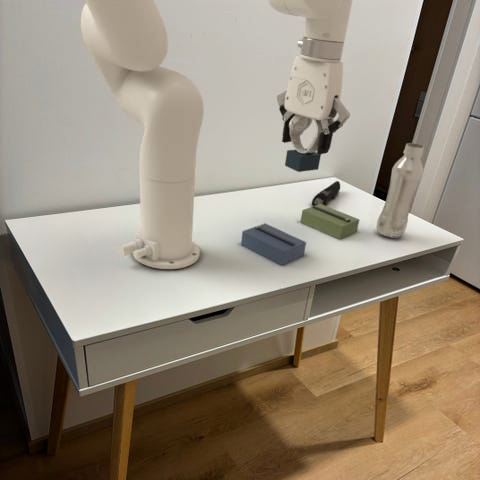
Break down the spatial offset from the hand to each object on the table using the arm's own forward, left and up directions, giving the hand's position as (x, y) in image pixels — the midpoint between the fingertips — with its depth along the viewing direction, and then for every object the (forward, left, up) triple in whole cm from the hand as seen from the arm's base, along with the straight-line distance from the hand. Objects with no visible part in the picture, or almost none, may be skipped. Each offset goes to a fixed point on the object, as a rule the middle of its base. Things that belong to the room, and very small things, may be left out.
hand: (304, 147), depth 100 cm
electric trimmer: (+22, +6, -18) cm, 29 cm away
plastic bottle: (+16, -16, -18) cm, 29 cm away
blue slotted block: (-12, -5, -18) cm, 22 cm away
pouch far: (+8, -5, -18) cm, 20 cm away
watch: (0, 0, -4) cm, 4 cm away
